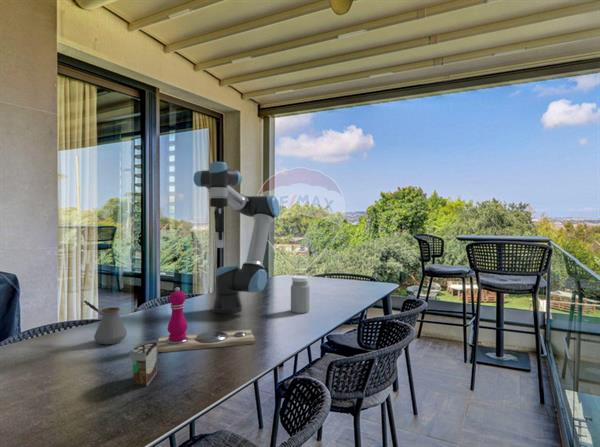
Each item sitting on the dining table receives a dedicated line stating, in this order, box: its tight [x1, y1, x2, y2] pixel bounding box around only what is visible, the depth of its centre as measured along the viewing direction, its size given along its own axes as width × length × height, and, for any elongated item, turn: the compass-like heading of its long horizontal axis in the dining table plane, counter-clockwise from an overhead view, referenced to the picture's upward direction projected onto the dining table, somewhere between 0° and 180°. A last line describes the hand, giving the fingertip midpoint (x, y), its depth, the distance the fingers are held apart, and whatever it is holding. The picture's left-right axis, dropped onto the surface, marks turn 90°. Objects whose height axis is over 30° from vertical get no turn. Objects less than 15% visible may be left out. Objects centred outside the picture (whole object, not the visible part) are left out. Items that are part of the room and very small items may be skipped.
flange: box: [166, 337, 188, 344], centre depth 142 cm, size 8×8×1 cm
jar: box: [290, 275, 311, 314], centre depth 192 cm, size 10×10×18 cm
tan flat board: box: [157, 328, 256, 354], centre depth 145 cm, size 14×36×2 cm, turn 106°
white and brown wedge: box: [129, 339, 158, 387], centre depth 112 cm, size 12×6×10 cm, turn 5°
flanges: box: [196, 331, 246, 343], centre depth 147 cm, size 12×19×1 cm, turn 106°
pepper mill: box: [167, 286, 188, 342], centre depth 142 cm, size 7×7×20 cm
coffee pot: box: [81, 300, 128, 345], centre depth 147 cm, size 21×12×15 cm, turn 66°
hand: (219, 246), depth 163 cm, fingers open, 13 cm apart
